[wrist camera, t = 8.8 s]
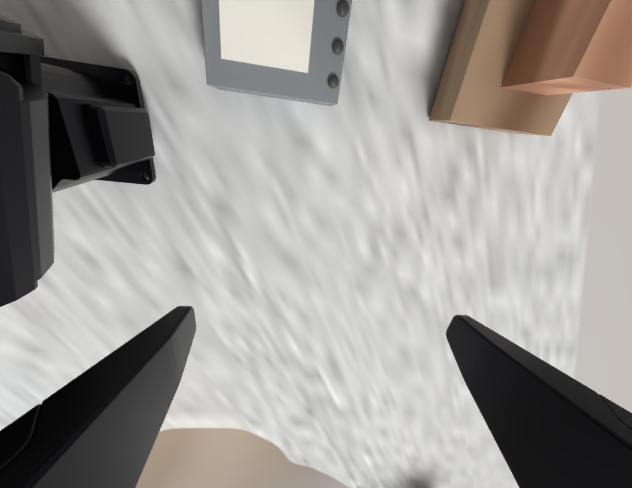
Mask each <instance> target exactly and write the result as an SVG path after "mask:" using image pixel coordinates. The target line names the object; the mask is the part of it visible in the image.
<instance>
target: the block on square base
mask: <svg viewBox="0 0 632 488" xmlns="http://www.w3.org/2000/svg"><path fill="white" fill-rule="evenodd" d="M631 86H632V0H464V3H463V7H462V10H461V14H460V17H459V20H458V24H457V27H456V30H455V34H454V37H453V41H452V44H451V47H450V51H449V54H448V57H447V61H446V64H445V68H444V71H443V74H442V78H441V81H440V84H439V88H438V91H437V95H436V98H435V101H434V105H433V108H432V111H431V115H430V118H429V120H430V121H437V122H443V123H450V124H457V125H464V126H470V127H477V128H484V129H490V130H497V131H504V132H510V133H517V134H531V135H546V136H551V134H552V132H553V131H554V129H555V127H556V125H557V123H558V121H559V119H560V117H561V115H562V113H563V111H564V109H565V107H566V105H567V103H568V101H569V99H570V97H571V95H572V93H578V92H589V91H600V90H611V89H622V88H630V87H631Z"/></svg>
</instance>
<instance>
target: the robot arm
mask: <svg viewBox="0 0 632 488" xmlns="http://www.w3.org/2000/svg"><path fill="white" fill-rule="evenodd" d="M40 55H42V56H44V42H43V39H42V38H40V37H37V36H35V35H33V34H30V33H28V32H26V31H24V30H22V29H21V25H20V24H18V23H16V22H14V21H12V20H10V19H8V18H5V17H3V16H1V15H0V307H1V306H4V305H6V304H9V303H11V302H14V301H16V300H18V299H20V298H21V297H23V296H25V295H26V294H28V293H30V292H31V291H33V290H35V289H36V288H37V287H38V283H37V280H39V279H40V278H41V277H42V276H43V275H44V274H45V273H46V271H47V270H48V269H49V268H50V267H51V265H52V264H53V263H54V228H53V202H52V193H53V192H56V191H60V190H63V189H66V188H69V187H72V186H76V185H79V184H82V183H85V182H89V181H92V180H104V181H114V182H125V183H135V184H151V183H153V182H154V181H155V180H156V175H155V169H154V163H153V156H154V155H155V152H154V146H153V140H152V134H151V128H150V122H149V115H148V113H147V112H146V111H145V109H144V104H143V98H142V92H141V86H140V81H139V78H138V77H137V75H136V74H135V73H133V72H132V71H129V70H126V69H120V68H113V67H107V66H100V65H94V64H87V63H81V62H74V61H68V60H61V59H54V58H48V57H41V56H40ZM127 76H129V77H130V78H131V84H130V85H129V84H128V83H127V82H126V77H127ZM144 173H145V174H147V175H148V176H149V180H148V179H146V178H145V177H144ZM195 331H196V322H195V314H194V309H193V307H191V306H178V307H176V308H175V309H173V310H172V311H170V312H169V313H168V314H166V315H165V316H163V317H162V318H160V319H159V320H158V321H156V322H155V323H153V324H152V325H150V326H149V327H148V328H146V329H145V330H143V331H142V332H141V333H139V334H138V335H136V336H135V337H133V338H132V339H131V340H129V341H128V342H126V343H125V344H123V345H122V346H121V347H119V348H118V349H116V350H115V351H113V352H112V353H111V354H109V355H108V356H106V357H105V358H104V359H102V360H101V361H99V362H98V363H96V364H95V365H94V366H92V367H91V368H89V369H88V370H86V371H85V372H84V373H82V374H81V375H79V376H78V377H77V378H75V379H74V380H72V381H71V382H69V383H68V384H67V385H65V386H64V387H62V388H61V389H59V390H58V391H57V392H55V393H54V394H52V395H51V396H49V397H48V398H47V399H45V400H44V401H43V402H42V405H41V404H38V405H36V406H35V407H34V408H32V409H31V410H29V411H28V412H27V413H25V414H24V415H22V416H21V417H19V418H18V419H17V420H15V421H14V422H12V423H11V424H9V425H8V426H6V427H5V428H3V429H2V430H0V488H135V487H136V485H137V482H138V480H139V477H140V475H141V473H142V471H143V468H144V466H145V463H146V461H147V459H148V457H149V454H150V452H151V449H152V447H153V445H154V442H155V440H156V438H157V435H158V433H159V431H160V428H161V426H162V424H163V421H164V419H165V417H166V414H167V412H168V409H169V407H170V405H171V402H172V400H173V398H174V395H175V393H176V391H177V388H178V386H179V383H180V380H181V377H182V374H183V371H184V368H185V365H186V361H187V358H188V355H189V351H190V348H191V345H192V341H193V338H194V335H195ZM446 337H447V340H448V342H449V345H450V347H451V350H452V352H453V355H454V357H455V359H456V362H457V364H458V367H459V369H460V372H461V374H462V376H463V379H464V381H465V383H466V385H467V387H468V389H469V391H470V393H471V395H472V397H473V398H474V400H475V402H476V404H477V406H478V408H479V410H480V412H481V414H482V416H483V418H484V420H485V422H486V424H487V426H488V428H489V430H490V431H491V433H492V435H493V437H494V439H495V441H496V443H497V445H498V447H499V449H500V451H501V453H502V455H503V457H504V459H505V461H506V463H507V464H508V466H509V468H510V470H511V472H512V474H513V476H514V478H515V480H516V482H517V484H518V486H519V488H632V413H630V412H629V411H627V410H625V409H624V408H622V407H620V406H618V405H617V404H615V403H614V402H612V401H610V400H608V399H607V398H605V397H603V396H602V395H599V394H597V393H596V392H595V391H593V390H592V389H590V388H588V387H587V386H585V385H583V384H582V383H580V382H578V381H577V380H575V379H573V378H571V377H570V376H568V375H566V374H565V373H563V372H561V371H560V370H558V369H556V368H555V367H553V366H551V365H550V364H548V363H546V362H545V361H543V360H541V359H540V358H538V357H536V356H535V355H533V354H531V353H530V352H528V351H526V350H524V349H523V348H521V347H519V346H518V345H516V344H514V343H513V342H511V341H509V340H508V339H506V338H504V337H503V336H501V335H499V334H498V333H496V332H494V331H493V330H491V329H489V328H488V327H486V326H484V325H483V324H481V323H479V322H477V321H476V320H474V319H472V318H471V317H469V316H467V315H455V316H454V317H453V319H452V321H451V323H450V325H449V327H448V329H447V331H446Z"/></svg>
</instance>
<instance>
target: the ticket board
mask: <svg viewBox="0 0 632 488" xmlns="http://www.w3.org/2000/svg"><path fill="white" fill-rule="evenodd" d="M201 1H202V17H203V32H204V47H205V62H206V78H207V84H208V85H210V86H213V87H215V88H218V89H221V90H228V91H234V92H241V93H248V94H255V95H261V96H268V97H275V98H281V99H288V100H295V101H301V102H308V103H315V104H322V105H328V106H332V105H335V104H337V102H338V95H339V88H340V81H341V74H342V67H343V60H344V53H345V46H346V39H347V32H348V25H349V18H350V10H351V3H352V0H201Z"/></svg>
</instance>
